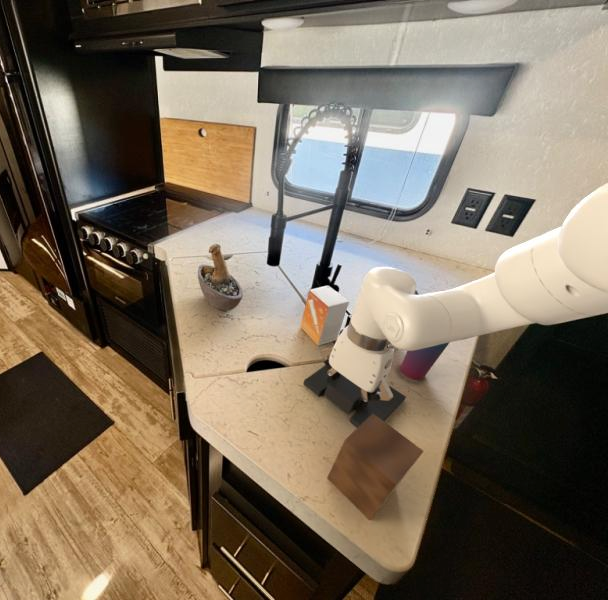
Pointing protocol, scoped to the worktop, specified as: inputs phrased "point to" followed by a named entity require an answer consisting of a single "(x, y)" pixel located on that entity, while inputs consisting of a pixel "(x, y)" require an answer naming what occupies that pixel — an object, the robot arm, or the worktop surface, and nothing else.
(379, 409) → the black u-shaped block
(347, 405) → the black squat block
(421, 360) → the cup
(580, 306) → the robot arm
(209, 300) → the planter
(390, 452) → the brown wooden block
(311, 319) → the small box
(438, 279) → the worktop surface
